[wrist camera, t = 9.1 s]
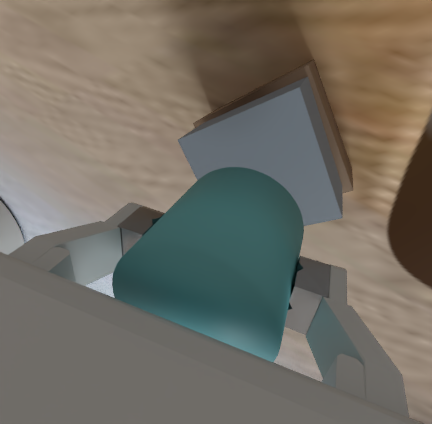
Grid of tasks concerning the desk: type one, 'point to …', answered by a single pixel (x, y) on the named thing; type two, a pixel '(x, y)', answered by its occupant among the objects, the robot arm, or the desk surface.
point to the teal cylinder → (220, 261)
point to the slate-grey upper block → (274, 148)
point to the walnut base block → (323, 107)
